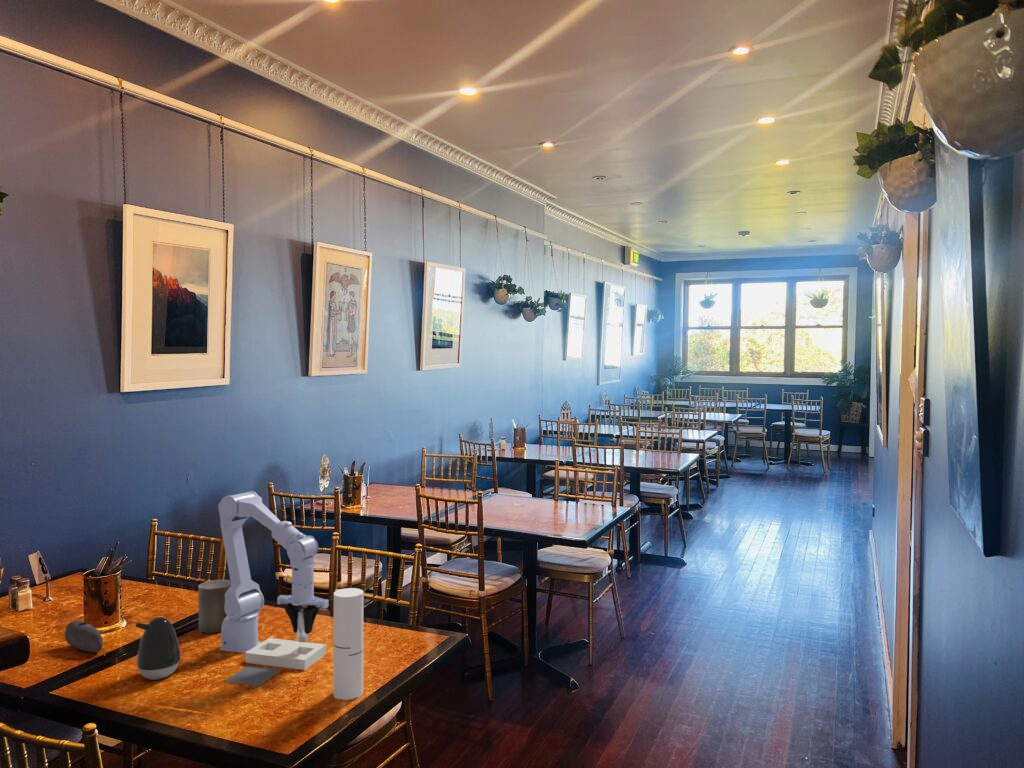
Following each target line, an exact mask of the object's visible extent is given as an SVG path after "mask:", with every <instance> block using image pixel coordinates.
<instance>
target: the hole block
mask: <svg viewBox="0 0 1024 768" xmlns="http://www.w3.org/2000/svg"><path fill="white" fill-rule="evenodd" d="M261 642H262V643H260V644H259V645H257V646H255V647H254V648H252V649H251V650H249V651H247V652H246V653H244V655H245V657H244V659H245V661H244V662H245V663H247V664H254V665H255V664H256V665H263V666H269V667H278V668H285V669H286V668H287V669H294V670H302V671H307V669H308V668H310V667H312V665H314V664H315V663H316V662H317V661H319V660H320V659H322V658H323V657H324V656H325V655H326V654H327V644H323V643H316V642H308V641H306V642H297V640H291V639H289V640H288V639H282V638H281V639H280V638H272V637H269V638H267V639H265V640H263V641H261Z"/></svg>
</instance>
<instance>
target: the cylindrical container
mask: <svg viewBox="0 0 1024 768" xmlns="http://www.w3.org/2000/svg"><path fill="white" fill-rule="evenodd" d="M364 602H365V601H364V590H363V589H360V588H356V587H347V588H340V589H338V590H335V591H334V592H333V653H332V654H333V656H332V657H333V661H332V663H333V665H332V666H333V668H332V669H333V677H332V678H333V679H332V680H333V681H332V683H333V685H332V687H333V688H332V689H333V692H332V693H333V697H334V698H335V699H336V698H338V699H337V700H339V699H343V700H342V701H349V700H348V699H352V700H355V699H354V698H356V699H358V698H361V696H363V694H364ZM357 697H358V698H357ZM344 699H345V700H344Z"/></svg>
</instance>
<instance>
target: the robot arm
mask: <svg viewBox="0 0 1024 768" xmlns="http://www.w3.org/2000/svg"><path fill="white" fill-rule="evenodd" d="M217 508H218V513H219V514H218V515H219V519H220V528H221V529H220V530H221V535H222V539H223V546H224V551H225V556H226V562H227V563H226V564H227V568H228V574H229V580H230V581H231V586H230V588H229V589H228V590H227V592H226V593H225V606H224V609H225V613H226V615H227V617H226V618H225V619H224V620H223V623H222V627H221V632H220V633H221V635H220V643H221V644H220V647H219V650H220V651H226V652H232V653H233V652H235V653H242V654H245V653H246V652H247V651H249V650H251V649H252V648H254V647H255V646H257V645H259V644H260V643H262V642H263V641H260V640H259V632H258V631H259V615H260V613H261V610H262V609H263V608H264V605H265V598H264V595H263V593H262V591H261V589H260V585H259V584H258V583H257V582H255V581H254V580H252V576H251V571H250V565H249V560H248V555H247V548H246V544H245V537H244V531H243V525H244V523H245V522H246V521H247V520H248V519H249V518H251V517H252V518H253V519H254V520H256V521H258V522H259V523H260V524H261V525H262V526H264V527H266V528H267V529H268V530H270V531H271V538H273V540H275V542H277V543H278V544H279V545H280V546H282V548H284V549H285V550H286V553H287V557H288V558H289V560H290V561H289V562H290V563H289V564H290V566H291V594H289V595H287V594H285V595H284V594H280V595H279V596H278V597H277V599H276V601H277V602H276V603H277V605H282V604H283V605H287V606H286V607H285V608H284V611H285V613H286V614H287V615H288V618H289V620H290V622H291V625H292V626H291V628H292V630H293V633H296V634H297V611H298V610H300V609H303V614H304V618H305V633H306V634H308V635H309V634H310V633H312V631H313V628H314V623H315V620H316V617H317V615H318V613H319V610H320V608H321V609H323V610H324V609H325V610H326V609H327V608H328V607H329V604H330V603H329V599H325V598H321V597H318V596H315V594H314V592H315V589H314V587H315V582H314V581H315V578H314V577H315V574H314V571H315V569H314V568H315V564H314V563H315V556H316V555H317V554H318V553H319V543H318V541H317V540H316V539H315V537H314V536H313V535H306V534H304V533H303V532H300V530H298V529H297V528H296V527H295V526H293V523H292V522H291V521H288V520H283V521H282V520H280V519H279V518H278V517H277V516H276V515H275V514H274V513H273V512H272V511H271V510H270V509H269V508H268V506H266V505H265V504H264V503H263V498H262V497H261V496H260V495H258V494H257V492H255V491H253V490H250V491H246V492H242V493H237V494H233V495H229V494H228V495H224V496H223V497H222V498H221V500H220V502H219V504H217ZM303 607H306V608H303Z"/></svg>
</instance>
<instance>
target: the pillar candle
mask: <svg viewBox="0 0 1024 768" xmlns="http://www.w3.org/2000/svg"><path fill="white" fill-rule="evenodd" d="M230 586H231V580H230V579H214V580H208V581H205V582H201V583H200V584H198V587H197V589H198V631H199V633H201V632H204V633H203V634H217V633H216V632H218V633H221V627H222V623H223V620H224V619H225V618H226V617H227V615H226V613H225V609H224V606H225V593H226V592H227V590H228V589H229V588H230Z"/></svg>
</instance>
